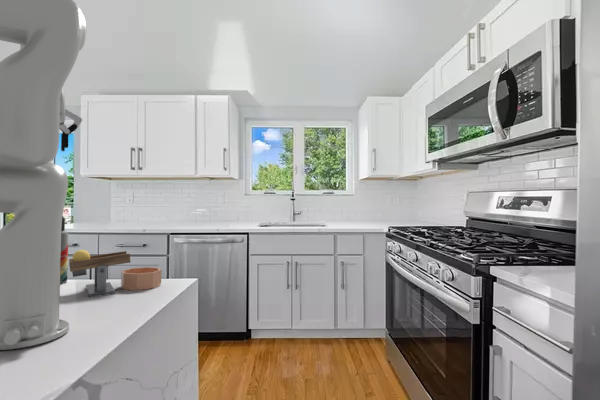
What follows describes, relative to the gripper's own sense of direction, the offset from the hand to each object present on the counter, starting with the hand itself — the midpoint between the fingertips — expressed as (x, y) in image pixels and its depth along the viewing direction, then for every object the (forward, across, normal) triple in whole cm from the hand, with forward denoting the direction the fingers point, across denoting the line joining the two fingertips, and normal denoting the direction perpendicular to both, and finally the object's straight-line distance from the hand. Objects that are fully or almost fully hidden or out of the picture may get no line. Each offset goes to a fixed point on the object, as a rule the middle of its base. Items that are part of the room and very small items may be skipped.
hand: (38, 148), depth 83 cm
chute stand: (+37, +14, +7) cm, 40 cm away
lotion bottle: (+37, +4, +24) cm, 44 cm away
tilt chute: (+31, +14, +11) cm, 36 cm away
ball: (+27, +10, +7) cm, 30 cm away
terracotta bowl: (+37, +24, +7) cm, 45 cm away
